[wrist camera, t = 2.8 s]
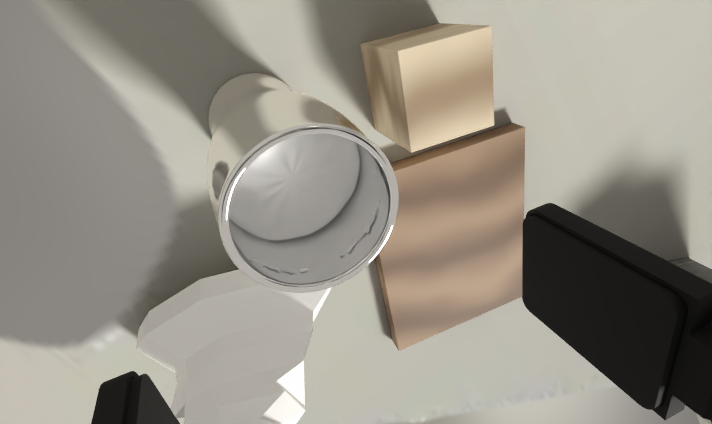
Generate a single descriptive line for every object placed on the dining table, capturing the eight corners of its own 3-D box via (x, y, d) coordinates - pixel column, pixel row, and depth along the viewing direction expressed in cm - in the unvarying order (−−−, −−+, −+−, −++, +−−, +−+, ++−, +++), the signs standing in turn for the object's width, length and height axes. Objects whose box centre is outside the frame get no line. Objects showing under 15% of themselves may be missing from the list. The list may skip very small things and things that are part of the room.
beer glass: (175, 111, 25) (161, 212, 13) (264, 41, 25) (338, 71, 13) (250, 190, 29) (297, 328, 16) (327, 128, 29) (434, 219, 16)
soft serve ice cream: (335, 318, 39) (382, 488, 29) (166, 358, 36) (152, 564, 26) (329, 221, 30) (393, 412, 20) (109, 262, 27) (54, 510, 17)
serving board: (357, 174, 31) (364, 181, 30) (512, 123, 34) (524, 127, 33) (392, 340, 40) (398, 350, 39) (513, 287, 43) (522, 296, 42)
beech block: (359, 43, 28) (397, 51, 23) (438, 23, 29) (491, 25, 24) (374, 129, 31) (411, 152, 25) (445, 107, 32) (494, 125, 27)
